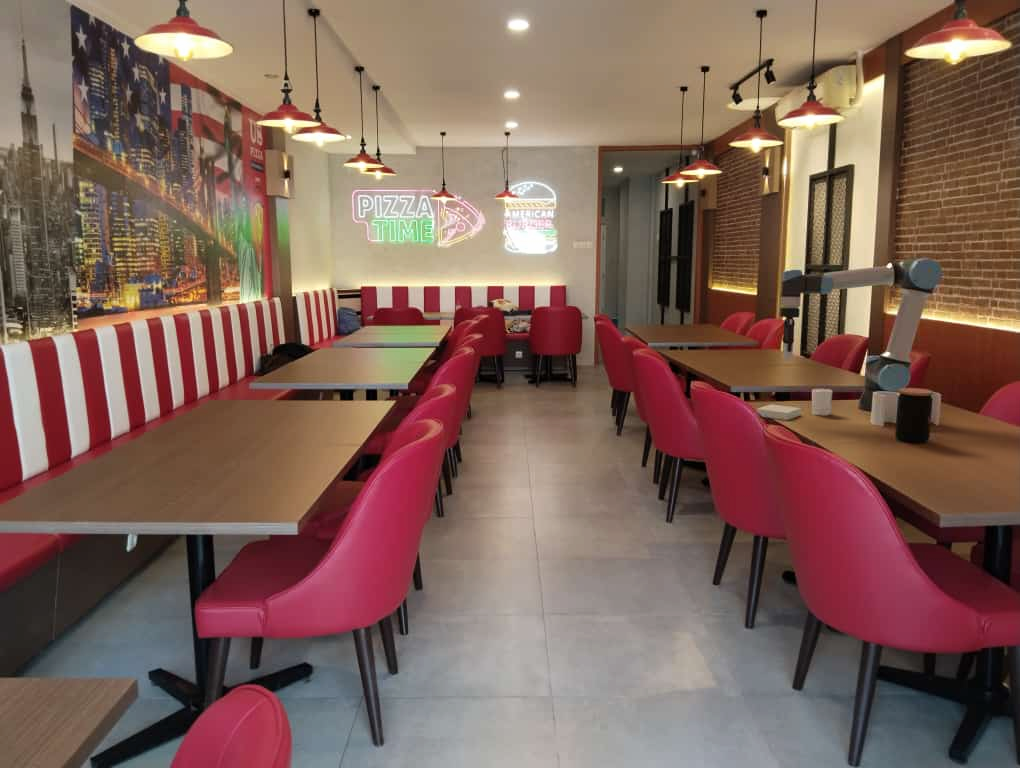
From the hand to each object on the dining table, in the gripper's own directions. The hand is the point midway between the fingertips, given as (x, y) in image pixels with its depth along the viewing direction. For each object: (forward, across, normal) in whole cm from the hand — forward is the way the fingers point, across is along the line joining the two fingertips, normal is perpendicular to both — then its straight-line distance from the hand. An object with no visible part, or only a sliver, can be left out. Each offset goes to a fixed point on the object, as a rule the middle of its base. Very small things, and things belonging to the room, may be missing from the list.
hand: (786, 359), depth 307 cm
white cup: (+23, -5, +15) cm, 28 cm away
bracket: (+23, +7, +44) cm, 50 cm away
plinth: (+23, +2, -2) cm, 24 cm away
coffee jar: (+26, +37, +40) cm, 60 cm away
